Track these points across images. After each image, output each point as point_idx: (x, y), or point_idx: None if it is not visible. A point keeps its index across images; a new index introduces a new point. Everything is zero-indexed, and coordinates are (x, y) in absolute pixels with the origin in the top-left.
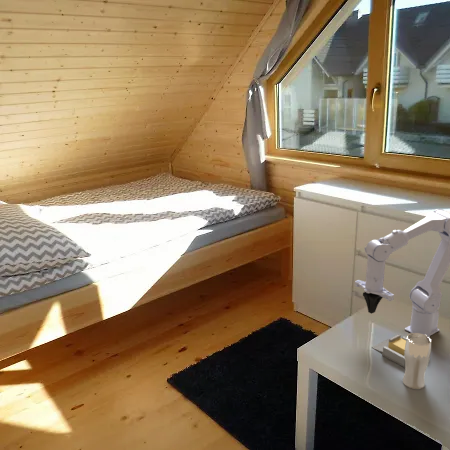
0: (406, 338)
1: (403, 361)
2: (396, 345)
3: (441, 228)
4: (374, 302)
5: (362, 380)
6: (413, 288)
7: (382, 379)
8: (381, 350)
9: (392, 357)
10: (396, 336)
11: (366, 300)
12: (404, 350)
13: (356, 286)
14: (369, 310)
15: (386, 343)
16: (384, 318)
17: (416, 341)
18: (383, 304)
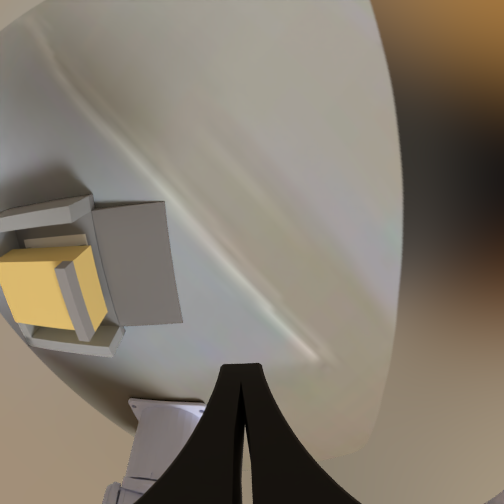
0: (95, 351)
1: (2, 214)
2: (38, 262)
3: None
4: (161, 486)
5: (43, 11)
6: None
7: (7, 81)
8: (113, 216)
9: (41, 205)
10: (73, 317)
11: (293, 469)
12: (11, 260)
13: (498, 500)
14: (242, 379)
15: (152, 286)
16: (302, 403)
17: None
18: (352, 434)
